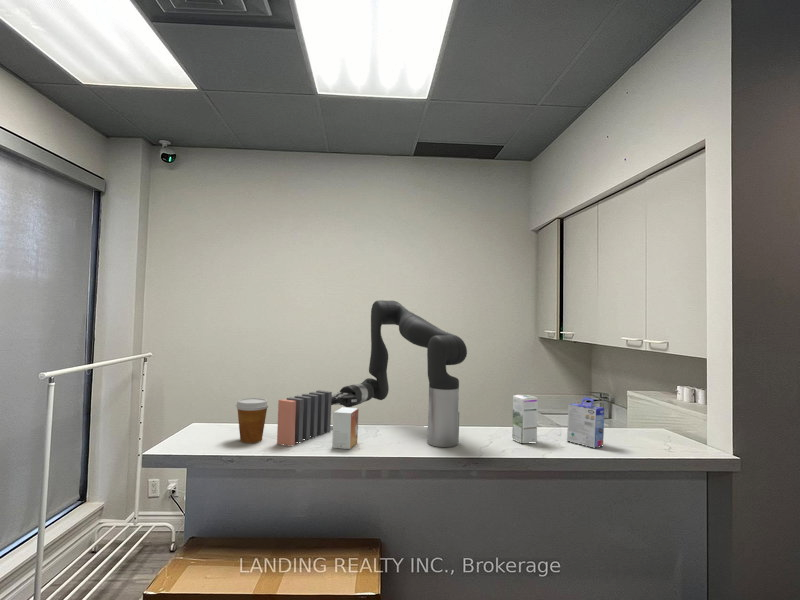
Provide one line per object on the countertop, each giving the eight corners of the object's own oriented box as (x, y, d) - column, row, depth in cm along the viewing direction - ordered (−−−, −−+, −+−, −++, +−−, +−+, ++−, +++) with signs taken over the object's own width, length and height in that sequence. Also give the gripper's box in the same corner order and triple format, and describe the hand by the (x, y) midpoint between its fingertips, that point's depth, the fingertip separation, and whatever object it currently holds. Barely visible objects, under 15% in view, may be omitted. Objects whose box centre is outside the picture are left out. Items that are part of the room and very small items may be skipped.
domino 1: (280, 442, 147) (282, 399, 147) (294, 445, 145) (296, 400, 145) (276, 444, 145) (278, 400, 145) (290, 446, 143) (292, 401, 143)
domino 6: (317, 429, 164) (319, 390, 164) (330, 431, 162) (331, 391, 162) (314, 430, 162) (315, 391, 162) (327, 432, 160) (328, 392, 160)
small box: (350, 449, 142) (351, 413, 142) (331, 448, 143) (332, 411, 143) (358, 442, 150) (359, 407, 150) (340, 441, 151) (341, 406, 151)
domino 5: (310, 431, 160) (312, 391, 161) (323, 433, 158) (325, 393, 159) (307, 433, 159) (309, 392, 159) (320, 435, 157) (322, 394, 157)
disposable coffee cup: (228, 443, 144) (230, 402, 145) (244, 435, 154) (245, 396, 154) (258, 446, 143) (260, 404, 143) (272, 437, 152) (274, 398, 152)
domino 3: (296, 437, 154) (298, 395, 154) (309, 439, 151) (311, 397, 152) (293, 438, 152) (294, 396, 152) (306, 440, 150) (307, 397, 150)
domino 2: (288, 439, 150) (290, 397, 150) (302, 442, 148) (303, 399, 148) (285, 441, 149) (286, 398, 149) (298, 443, 146) (300, 399, 147)
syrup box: (537, 443, 155) (538, 397, 155) (521, 445, 153) (523, 398, 153) (526, 438, 160) (527, 394, 160) (511, 440, 158) (512, 394, 158)
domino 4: (303, 434, 157) (305, 393, 157) (316, 436, 155) (318, 395, 155) (300, 435, 155) (301, 394, 156) (313, 437, 153) (315, 396, 153)
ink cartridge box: (604, 446, 154) (605, 400, 154) (595, 449, 150) (596, 402, 151) (575, 439, 162) (576, 395, 162) (566, 442, 158) (567, 396, 158)
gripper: (338, 383, 183) (310, 389, 167) (369, 386, 177) (344, 393, 161) (337, 403, 182) (310, 411, 167) (369, 407, 177) (343, 416, 161)
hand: (326, 402), depth 164 cm, fingers closed
